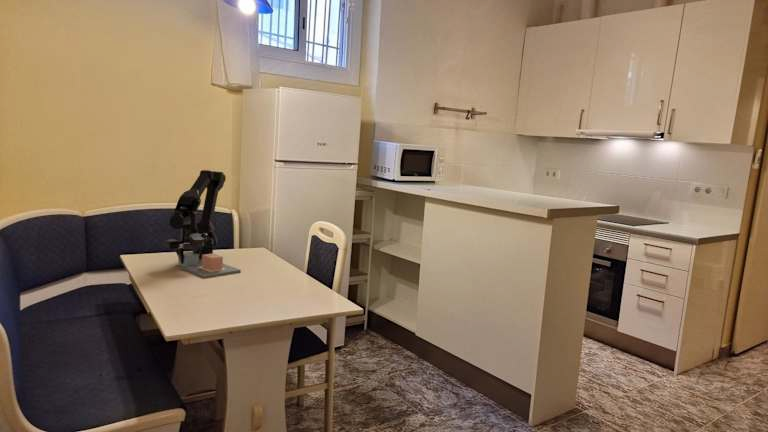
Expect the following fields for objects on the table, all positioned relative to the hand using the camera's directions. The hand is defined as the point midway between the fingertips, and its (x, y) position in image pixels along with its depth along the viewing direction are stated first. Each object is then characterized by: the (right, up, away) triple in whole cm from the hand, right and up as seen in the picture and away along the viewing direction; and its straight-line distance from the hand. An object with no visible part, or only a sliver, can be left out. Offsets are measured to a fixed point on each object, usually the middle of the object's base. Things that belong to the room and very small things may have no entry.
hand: (188, 262), depth 210 cm
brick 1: (0, -1, 0) cm, 1 cm away
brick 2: (+12, -2, -6) cm, 13 cm away
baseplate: (+12, -3, -6) cm, 13 cm away
